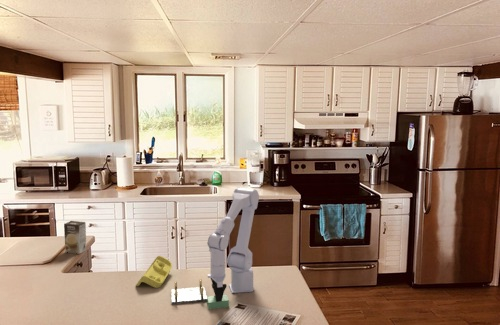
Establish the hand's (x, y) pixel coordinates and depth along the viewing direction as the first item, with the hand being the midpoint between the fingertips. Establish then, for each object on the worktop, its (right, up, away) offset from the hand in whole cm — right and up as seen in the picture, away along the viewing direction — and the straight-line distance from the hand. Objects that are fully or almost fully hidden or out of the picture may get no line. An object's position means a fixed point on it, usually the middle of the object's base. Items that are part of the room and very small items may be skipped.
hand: (217, 296), depth 148 cm
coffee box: (-82, +5, +55) cm, 99 cm away
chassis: (-13, -2, +7) cm, 15 cm away
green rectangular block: (0, -4, +1) cm, 4 cm away
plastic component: (-30, -1, +23) cm, 38 cm away
